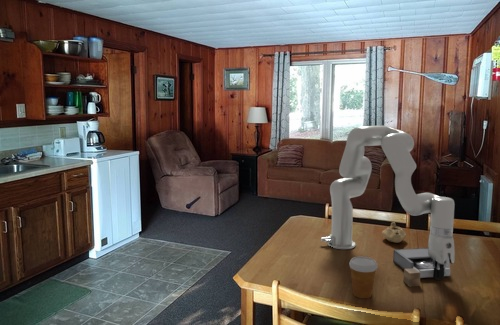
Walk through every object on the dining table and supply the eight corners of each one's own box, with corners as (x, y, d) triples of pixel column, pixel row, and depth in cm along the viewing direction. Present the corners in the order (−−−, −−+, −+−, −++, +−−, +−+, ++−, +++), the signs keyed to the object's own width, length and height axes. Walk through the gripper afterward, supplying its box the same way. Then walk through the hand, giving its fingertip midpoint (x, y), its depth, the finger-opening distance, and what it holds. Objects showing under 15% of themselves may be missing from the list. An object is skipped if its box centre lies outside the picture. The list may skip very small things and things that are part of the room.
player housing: (410, 275, 153) (411, 262, 153) (393, 261, 167) (393, 249, 166) (446, 272, 155) (447, 260, 154) (426, 259, 169) (427, 247, 168)
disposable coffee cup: (344, 288, 143) (345, 256, 141) (370, 287, 144) (371, 255, 142) (353, 301, 133) (354, 267, 132) (381, 299, 134) (382, 266, 132)
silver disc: (420, 270, 154) (421, 265, 153) (411, 263, 160) (411, 258, 160) (437, 269, 155) (437, 264, 154) (427, 262, 161) (427, 257, 161)
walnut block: (409, 286, 144) (409, 273, 143) (403, 281, 148) (404, 268, 147) (419, 285, 144) (420, 272, 144) (413, 281, 148) (414, 268, 148)
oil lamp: (389, 247, 184) (389, 230, 183) (378, 236, 199) (378, 221, 197) (412, 246, 184) (413, 230, 183) (400, 236, 199) (400, 220, 198)
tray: (420, 278, 149) (421, 271, 148) (402, 263, 163) (402, 257, 162) (450, 276, 150) (451, 269, 150) (429, 261, 164) (430, 255, 164)
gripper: (464, 236, 138) (460, 286, 141) (438, 224, 153) (436, 269, 156) (444, 238, 138) (441, 288, 140) (420, 225, 152) (418, 271, 155)
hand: (438, 278), depth 148 cm, fingers closed
